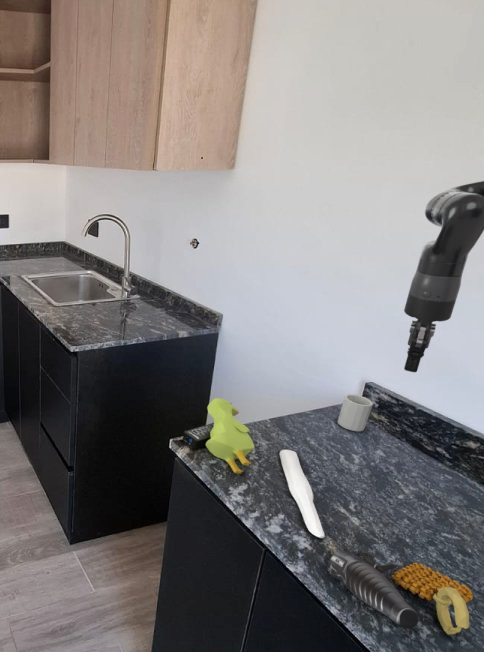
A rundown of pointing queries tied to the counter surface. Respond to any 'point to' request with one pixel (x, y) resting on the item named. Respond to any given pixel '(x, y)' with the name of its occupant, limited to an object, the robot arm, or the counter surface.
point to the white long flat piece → (301, 491)
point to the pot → (354, 412)
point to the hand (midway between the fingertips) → (410, 370)
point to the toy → (228, 434)
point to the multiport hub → (198, 436)
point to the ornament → (437, 593)
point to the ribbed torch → (372, 585)
